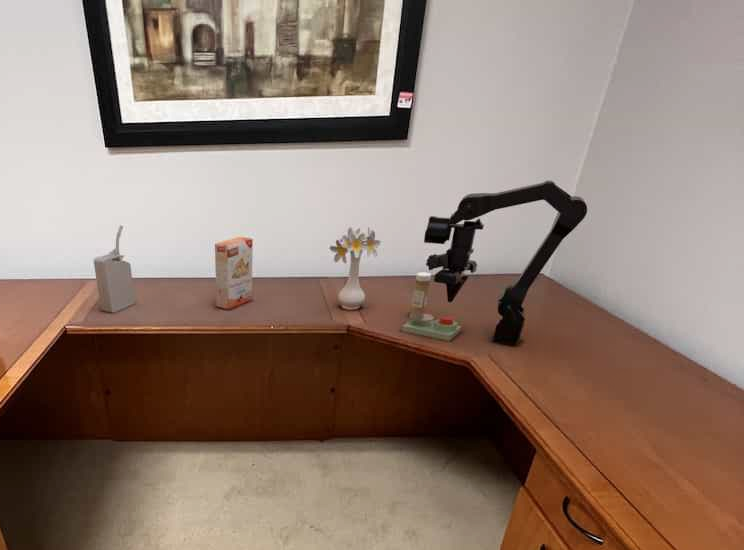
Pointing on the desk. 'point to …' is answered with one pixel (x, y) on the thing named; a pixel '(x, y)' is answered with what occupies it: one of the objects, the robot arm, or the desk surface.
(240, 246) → the cracker box
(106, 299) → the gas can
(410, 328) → the warmer
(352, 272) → the flower vase
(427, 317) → the plate
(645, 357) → the desk surface
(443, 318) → the button
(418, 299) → the sprinkles bottle
